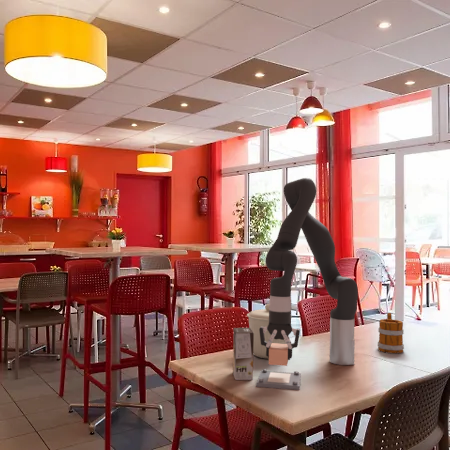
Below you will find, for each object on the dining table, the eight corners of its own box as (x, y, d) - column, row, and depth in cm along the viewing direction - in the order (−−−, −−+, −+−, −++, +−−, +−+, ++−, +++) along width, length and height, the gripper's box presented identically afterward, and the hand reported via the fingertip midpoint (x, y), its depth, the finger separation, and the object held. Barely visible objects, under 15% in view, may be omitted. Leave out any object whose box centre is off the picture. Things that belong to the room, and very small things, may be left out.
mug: (378, 352, 206) (379, 317, 206) (375, 344, 222) (376, 311, 222) (405, 354, 203) (406, 319, 203) (400, 345, 219) (401, 312, 219)
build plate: (300, 376, 170) (300, 371, 170) (299, 389, 156) (299, 383, 156) (260, 373, 173) (261, 368, 173) (256, 386, 159) (256, 380, 159)
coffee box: (253, 380, 166) (254, 332, 166) (234, 380, 165) (235, 332, 165) (249, 372, 175) (250, 327, 175) (232, 372, 174) (233, 327, 174)
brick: (288, 358, 169) (289, 344, 169) (286, 365, 160) (287, 350, 160) (271, 357, 170) (271, 343, 170) (268, 364, 161) (269, 349, 161)
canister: (238, 352, 201) (239, 301, 202) (274, 348, 210) (275, 299, 210) (261, 364, 185) (262, 308, 185) (299, 358, 194) (300, 305, 194)
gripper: (302, 308, 167) (300, 357, 167) (260, 306, 170) (259, 354, 170) (301, 312, 160) (300, 363, 160) (257, 309, 163) (256, 360, 162)
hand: (278, 358), depth 165 cm, fingers closed on brick, 6 cm apart
